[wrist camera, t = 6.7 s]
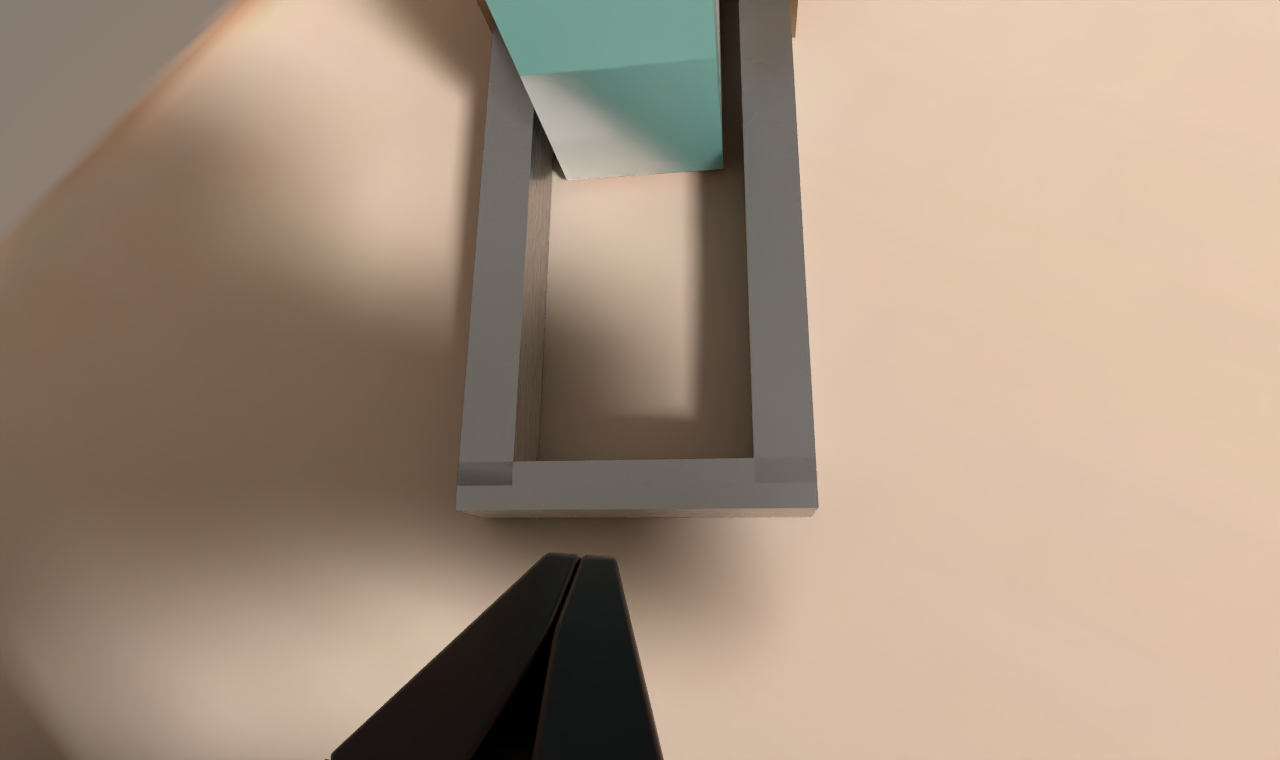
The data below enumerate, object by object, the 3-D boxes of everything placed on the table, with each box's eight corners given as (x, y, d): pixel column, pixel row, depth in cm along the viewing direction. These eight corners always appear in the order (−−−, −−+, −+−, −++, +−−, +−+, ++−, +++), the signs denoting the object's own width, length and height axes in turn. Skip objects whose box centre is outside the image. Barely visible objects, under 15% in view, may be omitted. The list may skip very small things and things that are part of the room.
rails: (811, 516, 16) (818, 508, 14) (485, 517, 17) (455, 509, 15) (785, 38, 19) (788, -16, 17) (515, 64, 20) (493, 15, 19)
